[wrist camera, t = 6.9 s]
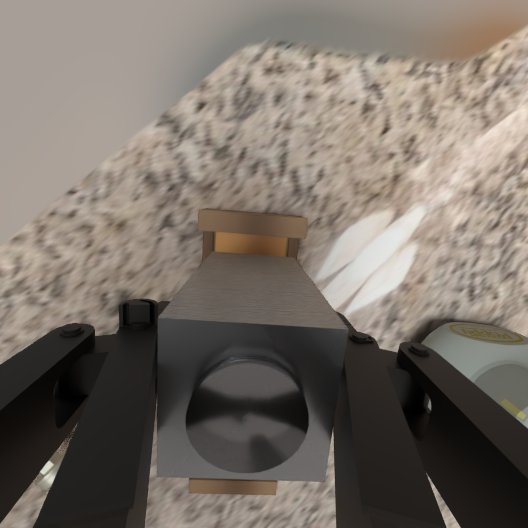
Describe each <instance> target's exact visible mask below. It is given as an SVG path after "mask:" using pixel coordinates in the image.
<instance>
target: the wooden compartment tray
mask: <svg viewBox="0 0 528 528" xmlns="http://www.w3.org/2000/svg"><path fill="white" fill-rule="evenodd" d="M307 220H308V219H307V218H303V217H300V216H291V215H279V214H267V213H256V212H244V211H232V210H220V209H208V208H206V209H199V214H198V230H200V231H204V232H203V257H202V263H203V262H204V260H205V259H206V258H207V257H208V256H209V254H210V253H211V252H212V251H216V252H230V253H243V254H256V255H269V256H282V257H294V258H295V259H296V260H297V253H298V244H299V238H301V239H305V237H306V228H307ZM276 488H277V480H249V479H216V478H189V493H202V494H247V495H276Z"/></svg>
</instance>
